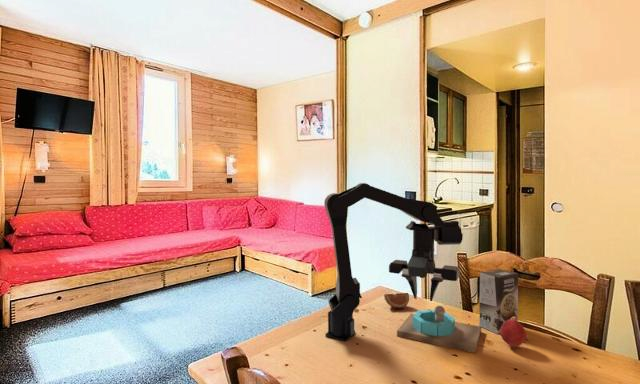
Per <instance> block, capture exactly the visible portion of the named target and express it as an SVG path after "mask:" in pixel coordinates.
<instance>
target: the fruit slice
mask: <svg viewBox="0 0 640 384" xmlns="http://www.w3.org/2000/svg"><path fill="white" fill-rule="evenodd" d="M383 297H384V300H385V302H386V303H387V304H388V305H389V306H390V307H392V308H393V309H398V310H399V309H400V310H401V309H404V308H405V307H406V306H408V304H409V302H410V295H409V292H403V293H402V292H398V293H395V294H394V293H384V295H383Z"/></svg>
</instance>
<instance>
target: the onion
mask: <svg viewBox="0 0 640 384" xmlns="http://www.w3.org/2000/svg"><path fill="white" fill-rule="evenodd" d="M499 334H500V337H501V339H502V340H503V341H504V342H505V343H506V344H507V345H508V346H510V347H511V348H512V349H514V348H515V349H516V348H517V347H519V346H521V345H523V344H524V343H525V341H527V340H526V339H527V332H526V329H525V328H524V326H523V325H522V324H521V323H520V322H519V321H516V317H512V318H511V319H509V320H507V321H506V322H504V323H503V324H502V326H501V329H500V333H499Z"/></svg>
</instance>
